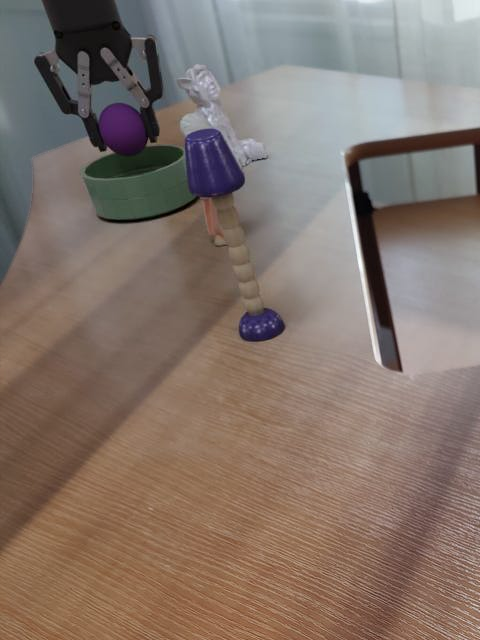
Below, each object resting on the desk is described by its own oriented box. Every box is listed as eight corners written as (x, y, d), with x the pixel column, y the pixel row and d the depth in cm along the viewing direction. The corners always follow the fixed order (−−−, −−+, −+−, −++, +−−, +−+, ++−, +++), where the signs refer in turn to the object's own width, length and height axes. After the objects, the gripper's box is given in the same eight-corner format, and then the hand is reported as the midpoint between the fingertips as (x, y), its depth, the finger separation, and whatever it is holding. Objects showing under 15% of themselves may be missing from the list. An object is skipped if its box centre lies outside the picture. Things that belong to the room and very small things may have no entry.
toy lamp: (288, 337, 80) (234, 134, 68) (237, 348, 79) (174, 146, 67) (281, 316, 83) (229, 119, 71) (233, 327, 82) (172, 130, 70)
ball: (107, 166, 105) (88, 113, 101) (111, 152, 109) (93, 101, 105) (154, 158, 105) (136, 105, 101) (156, 145, 109) (140, 94, 105)
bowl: (91, 231, 106) (73, 187, 102) (102, 196, 115) (86, 155, 112) (199, 212, 107) (186, 167, 103) (201, 179, 116) (189, 138, 113)
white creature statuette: (236, 179, 114) (208, 74, 106) (181, 179, 117) (149, 76, 109) (271, 156, 121) (246, 54, 112) (218, 156, 123) (189, 56, 115)
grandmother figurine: (214, 230, 102) (177, 106, 93) (247, 225, 102) (213, 101, 93) (207, 255, 96) (166, 126, 87) (241, 250, 96) (204, 121, 87)
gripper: (138, -41, 98) (188, 127, 109) (8, -21, 96) (73, 147, 108) (133, -32, 92) (186, 144, 104) (-5, -11, 91) (65, 164, 103)
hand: (128, 145), depth 106 cm, fingers closed on ball, 5 cm apart
